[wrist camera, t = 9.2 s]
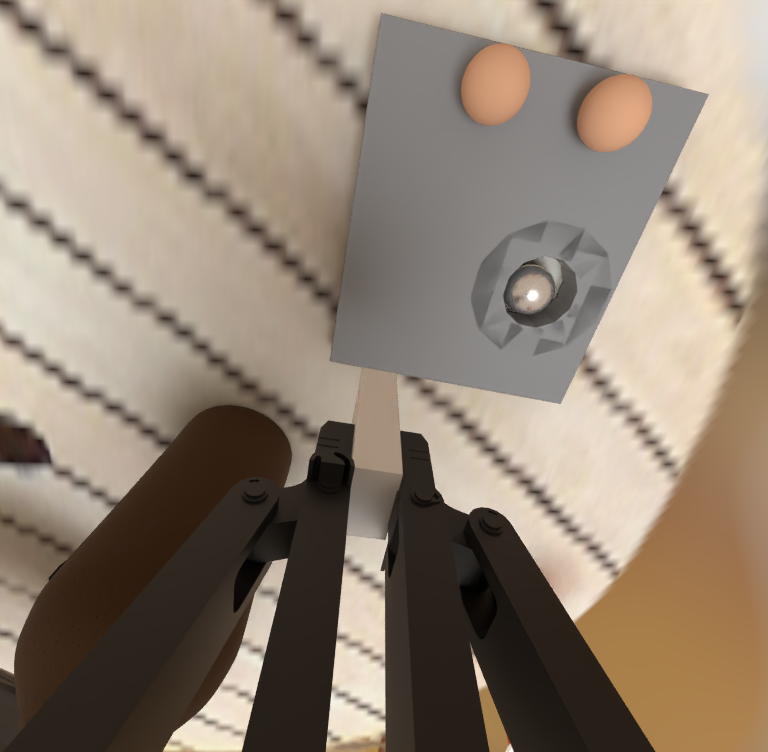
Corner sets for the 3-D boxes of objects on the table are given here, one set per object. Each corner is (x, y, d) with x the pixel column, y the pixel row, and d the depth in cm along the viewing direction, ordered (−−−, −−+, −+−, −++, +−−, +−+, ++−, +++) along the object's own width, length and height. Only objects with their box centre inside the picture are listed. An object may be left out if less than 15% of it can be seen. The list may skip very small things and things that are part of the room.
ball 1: (449, 120, 21) (457, 114, 19) (467, 45, 20) (478, 26, 17) (507, 133, 22) (524, 130, 19) (529, 60, 20) (551, 44, 17)
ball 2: (488, 300, 28) (514, 325, 26) (502, 256, 26) (531, 278, 24) (525, 298, 29) (554, 321, 27) (542, 255, 27) (573, 276, 25)
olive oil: (289, 396, 33) (71, 883, 11) (306, 493, 38) (182, 961, 16) (161, 399, 33) (-299, 872, 11) (195, 494, 38) (-77, 951, 16)
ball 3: (557, 145, 22) (581, 143, 19) (582, 73, 20) (612, 59, 17) (613, 158, 22) (645, 158, 19) (642, 88, 21) (681, 77, 18)
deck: (334, 346, 31) (329, 361, 28) (382, 28, 22) (381, 13, 19) (549, 386, 32) (560, 403, 29) (678, 100, 23) (708, 94, 21)
